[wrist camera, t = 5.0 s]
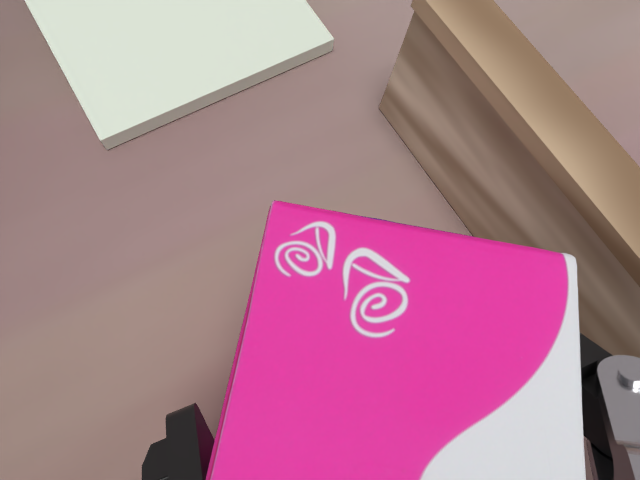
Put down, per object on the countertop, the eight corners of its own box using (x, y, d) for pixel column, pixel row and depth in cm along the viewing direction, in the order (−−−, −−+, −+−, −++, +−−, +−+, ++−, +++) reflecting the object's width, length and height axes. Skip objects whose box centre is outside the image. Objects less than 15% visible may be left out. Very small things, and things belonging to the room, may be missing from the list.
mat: (106, 150, 20) (100, 140, 19) (8, -34, 23) (-2, -48, 22) (332, 50, 23) (334, 38, 22) (220, -102, 26) (219, -116, 25)
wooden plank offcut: (657, 496, 17) (890, 560, 11) (373, 110, 22) (416, -11, 15) (692, 462, 18) (935, 504, 11) (409, 92, 22) (465, -32, 16)
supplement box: (409, 332, 19) (595, 251, 8) (393, 490, 17) (614, 677, 6) (272, 307, 18) (267, 188, 8) (240, 464, 16) (173, 607, 6)
